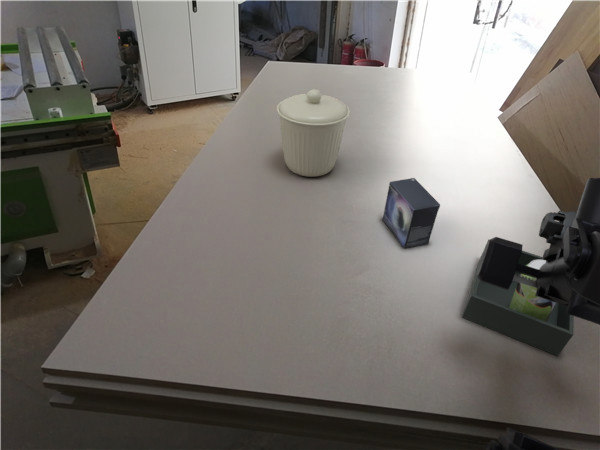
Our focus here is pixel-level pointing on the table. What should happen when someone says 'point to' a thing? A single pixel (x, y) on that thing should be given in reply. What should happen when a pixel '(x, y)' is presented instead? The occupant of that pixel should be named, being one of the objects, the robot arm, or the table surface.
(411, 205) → the small box
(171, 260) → the table surface
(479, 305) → the open square box
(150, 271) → the table surface
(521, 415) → the table surface
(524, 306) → the beverage can
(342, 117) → the canister
